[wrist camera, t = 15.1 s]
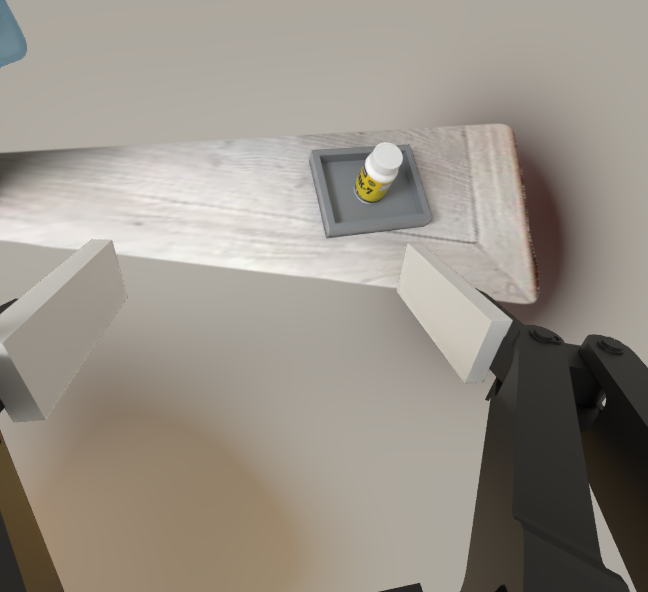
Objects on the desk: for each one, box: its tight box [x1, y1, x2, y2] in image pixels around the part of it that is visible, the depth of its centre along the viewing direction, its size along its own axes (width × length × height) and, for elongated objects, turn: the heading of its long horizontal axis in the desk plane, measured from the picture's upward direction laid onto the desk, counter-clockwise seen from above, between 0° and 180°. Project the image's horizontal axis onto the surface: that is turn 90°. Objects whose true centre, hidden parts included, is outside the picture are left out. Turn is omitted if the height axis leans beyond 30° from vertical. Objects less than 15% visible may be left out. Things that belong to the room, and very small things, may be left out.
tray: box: [309, 145, 432, 238], centre depth 48 cm, size 16×13×2 cm
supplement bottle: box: [354, 142, 403, 204], centre depth 44 cm, size 5×5×8 cm
